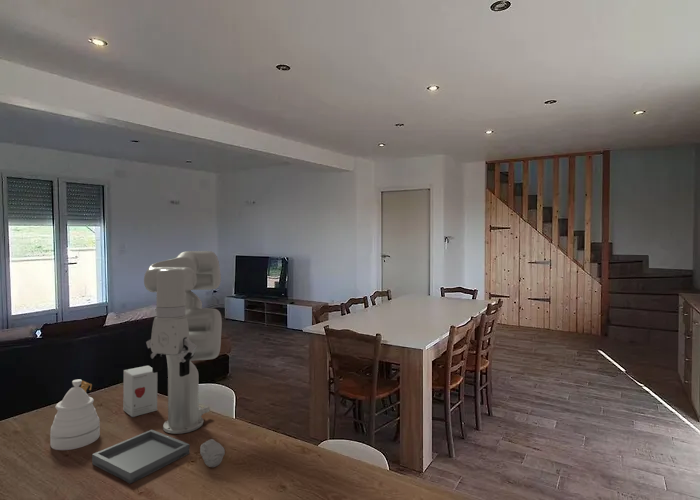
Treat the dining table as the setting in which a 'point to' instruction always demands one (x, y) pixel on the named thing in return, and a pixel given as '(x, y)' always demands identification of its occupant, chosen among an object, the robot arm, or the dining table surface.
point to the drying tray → (140, 455)
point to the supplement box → (140, 391)
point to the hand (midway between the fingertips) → (170, 373)
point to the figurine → (85, 386)
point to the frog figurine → (212, 453)
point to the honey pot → (74, 420)
